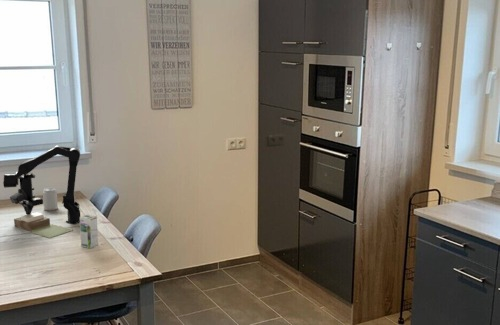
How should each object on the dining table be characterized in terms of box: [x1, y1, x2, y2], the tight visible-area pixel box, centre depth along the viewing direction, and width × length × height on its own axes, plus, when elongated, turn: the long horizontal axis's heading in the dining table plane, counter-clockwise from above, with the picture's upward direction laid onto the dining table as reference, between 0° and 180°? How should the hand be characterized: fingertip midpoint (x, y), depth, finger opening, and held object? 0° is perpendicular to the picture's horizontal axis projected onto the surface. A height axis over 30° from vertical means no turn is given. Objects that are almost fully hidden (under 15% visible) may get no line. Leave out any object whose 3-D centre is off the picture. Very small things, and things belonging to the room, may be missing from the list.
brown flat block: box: [13, 216, 51, 232], centre depth 278 cm, size 14×11×4 cm
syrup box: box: [79, 214, 99, 249], centre depth 249 cm, size 6×6×14 cm
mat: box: [28, 223, 74, 239], centre depth 270 cm, size 16×14×1 cm
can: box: [42, 187, 59, 212], centre depth 307 cm, size 8×8×12 cm
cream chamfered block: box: [20, 211, 45, 222], centre depth 276 cm, size 6×9×2 cm, turn 146°
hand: (28, 215), depth 278 cm, fingers closed
